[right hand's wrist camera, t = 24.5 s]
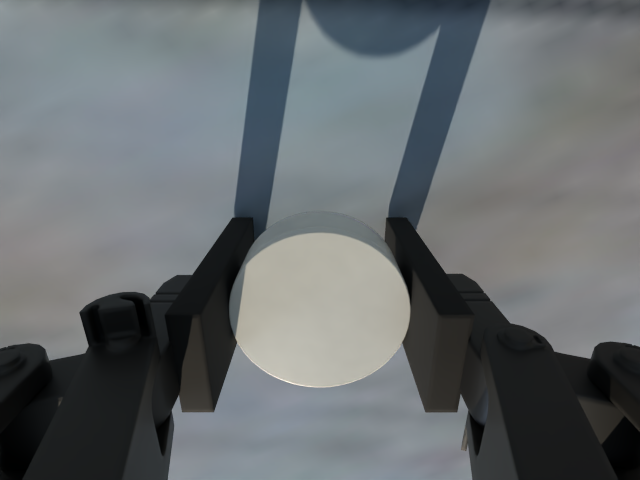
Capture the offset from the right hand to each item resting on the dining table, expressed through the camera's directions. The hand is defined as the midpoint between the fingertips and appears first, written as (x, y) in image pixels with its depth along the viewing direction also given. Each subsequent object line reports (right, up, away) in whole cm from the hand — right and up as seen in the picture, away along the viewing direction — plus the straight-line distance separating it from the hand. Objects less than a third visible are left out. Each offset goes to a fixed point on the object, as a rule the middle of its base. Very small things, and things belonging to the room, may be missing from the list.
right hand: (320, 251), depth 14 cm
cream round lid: (0, -2, -4) cm, 4 cm away
